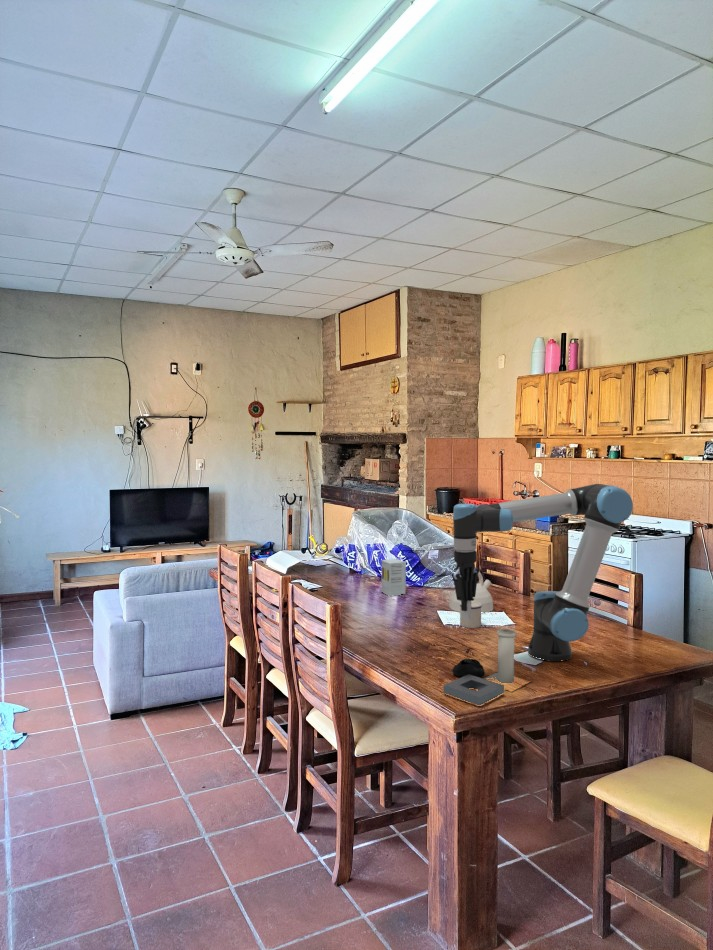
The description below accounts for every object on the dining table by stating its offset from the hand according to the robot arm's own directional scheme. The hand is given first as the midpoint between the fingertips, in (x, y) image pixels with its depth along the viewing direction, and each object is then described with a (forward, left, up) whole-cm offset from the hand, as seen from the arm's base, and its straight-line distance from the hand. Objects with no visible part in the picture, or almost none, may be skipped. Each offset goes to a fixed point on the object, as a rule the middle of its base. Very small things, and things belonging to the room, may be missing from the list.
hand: (466, 619), depth 217 cm
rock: (+4, +4, -17) cm, 18 cm away
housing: (+16, +14, -17) cm, 28 cm away
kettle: (-68, -46, -18) cm, 84 cm away
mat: (0, +15, -17) cm, 23 cm away
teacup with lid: (-45, -31, -17) cm, 57 cm away
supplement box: (-62, -89, -17) cm, 109 cm away
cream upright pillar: (0, +15, -17) cm, 23 cm away
